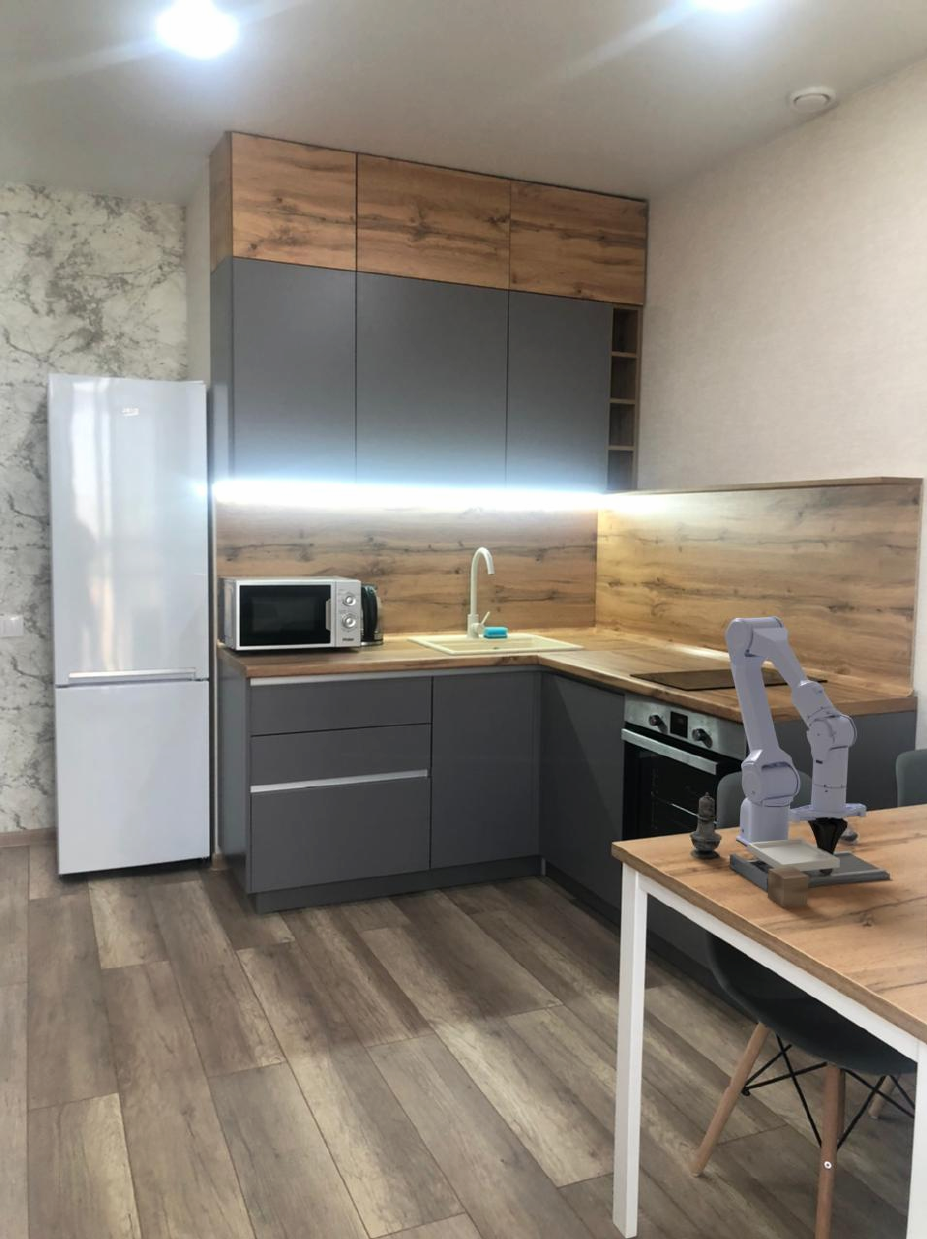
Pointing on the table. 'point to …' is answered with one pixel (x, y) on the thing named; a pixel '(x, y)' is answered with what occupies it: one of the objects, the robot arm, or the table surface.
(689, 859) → the table surface
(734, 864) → the dark grey tray
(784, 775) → the robot arm
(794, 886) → the plain brown block
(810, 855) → the white recessed tray
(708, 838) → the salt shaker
